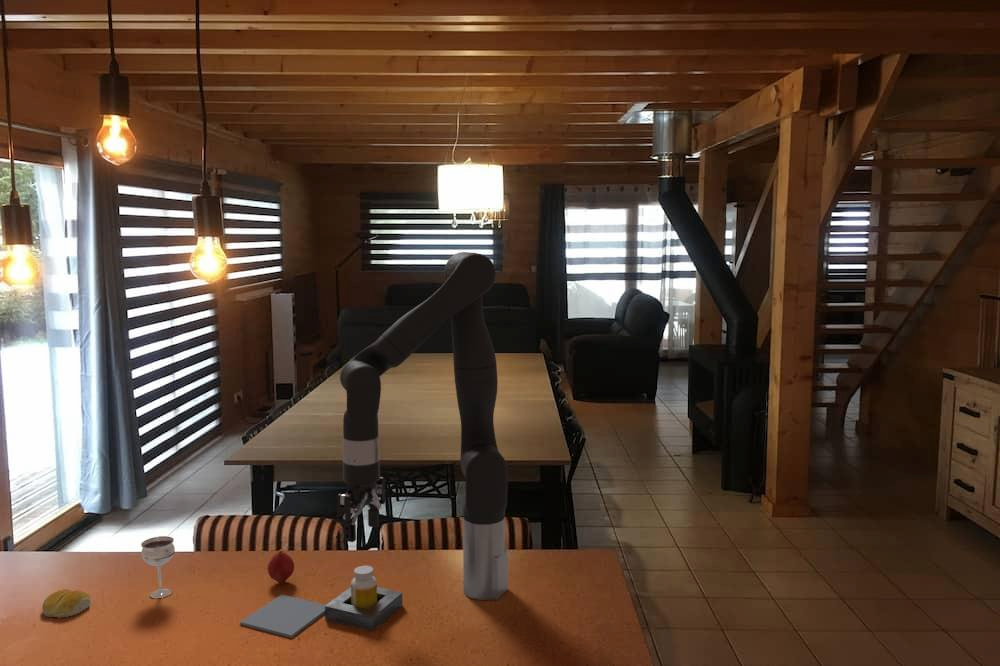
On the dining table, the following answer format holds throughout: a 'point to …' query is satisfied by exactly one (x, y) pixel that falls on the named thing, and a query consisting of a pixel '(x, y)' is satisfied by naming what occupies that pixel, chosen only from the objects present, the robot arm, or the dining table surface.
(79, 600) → the bread roll
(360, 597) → the supplement bottle
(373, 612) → the holder ring
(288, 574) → the onion
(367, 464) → the robot arm
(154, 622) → the dining table surface
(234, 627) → the dining table surface
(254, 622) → the rubber mat
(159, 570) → the wineglass
